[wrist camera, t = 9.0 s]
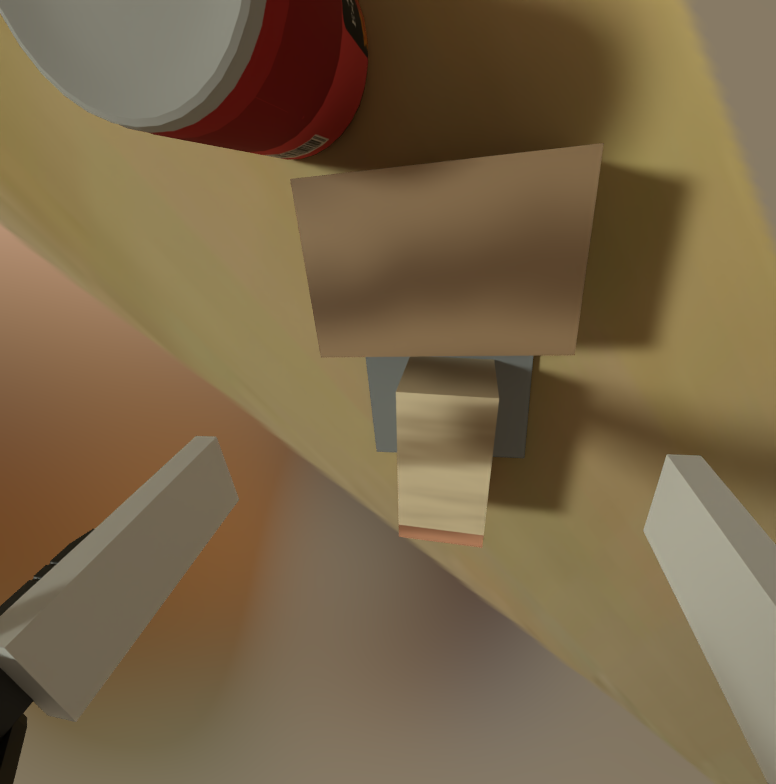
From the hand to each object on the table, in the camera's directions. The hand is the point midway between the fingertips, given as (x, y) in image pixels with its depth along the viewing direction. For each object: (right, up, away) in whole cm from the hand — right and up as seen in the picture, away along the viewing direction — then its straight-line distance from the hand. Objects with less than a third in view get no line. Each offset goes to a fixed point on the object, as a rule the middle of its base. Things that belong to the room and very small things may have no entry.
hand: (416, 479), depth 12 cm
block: (+2, +4, +9) cm, 10 cm away
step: (+2, +10, +9) cm, 14 cm away
